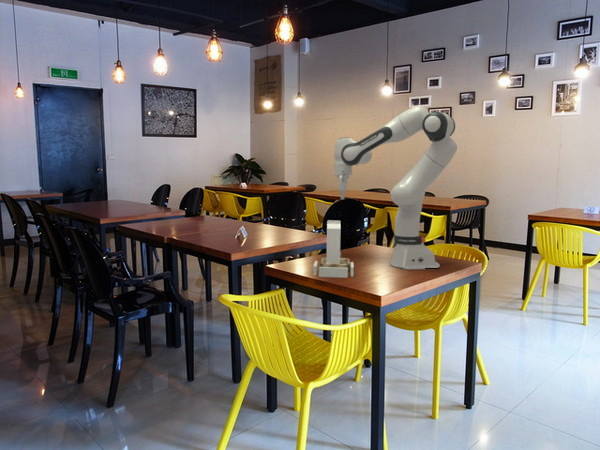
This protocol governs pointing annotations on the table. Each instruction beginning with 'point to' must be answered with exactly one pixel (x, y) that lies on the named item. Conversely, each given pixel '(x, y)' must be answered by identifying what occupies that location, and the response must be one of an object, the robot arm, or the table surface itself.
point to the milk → (333, 241)
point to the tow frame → (343, 264)
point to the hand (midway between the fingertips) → (342, 199)
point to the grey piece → (332, 271)
